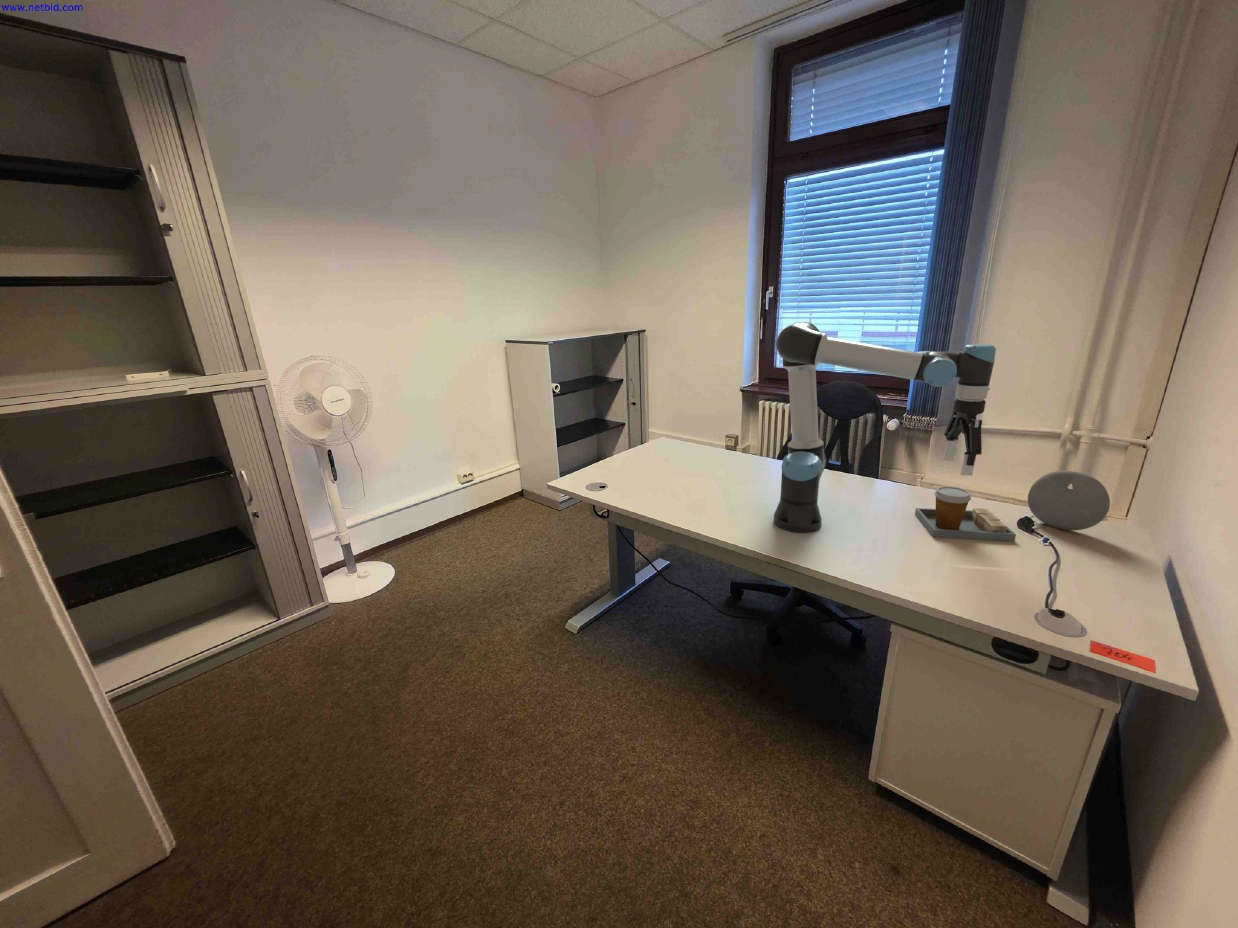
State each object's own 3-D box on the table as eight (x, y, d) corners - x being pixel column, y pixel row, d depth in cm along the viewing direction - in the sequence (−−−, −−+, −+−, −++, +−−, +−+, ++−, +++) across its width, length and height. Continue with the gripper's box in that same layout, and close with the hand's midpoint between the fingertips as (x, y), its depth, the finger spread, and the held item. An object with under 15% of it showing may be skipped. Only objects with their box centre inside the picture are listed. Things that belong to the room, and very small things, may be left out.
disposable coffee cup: (971, 533, 150) (977, 497, 146) (936, 532, 152) (942, 497, 148) (957, 520, 159) (963, 486, 155) (924, 519, 161) (930, 485, 157)
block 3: (989, 537, 147) (991, 525, 146) (983, 531, 151) (985, 519, 150) (1004, 538, 147) (1007, 526, 145) (997, 532, 150) (1000, 520, 149)
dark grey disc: (1101, 533, 148) (1118, 475, 142) (1099, 541, 143) (1117, 482, 137) (1024, 516, 161) (1036, 462, 155) (1020, 524, 156) (1032, 468, 150)
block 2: (984, 531, 151) (986, 519, 150) (976, 525, 155) (978, 514, 154) (997, 531, 151) (1000, 519, 150) (989, 525, 155) (991, 514, 153)
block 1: (974, 524, 156) (976, 512, 155) (971, 519, 160) (973, 507, 158) (989, 525, 155) (992, 514, 153) (985, 520, 158) (988, 509, 157)
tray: (932, 538, 150) (933, 529, 149) (914, 516, 165) (915, 508, 164) (1014, 543, 145) (1016, 534, 144) (988, 519, 160) (989, 511, 159)
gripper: (1006, 408, 130) (989, 482, 137) (966, 391, 153) (954, 455, 160) (974, 408, 132) (959, 481, 139) (940, 390, 155) (928, 454, 162)
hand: (956, 467), depth 149 cm, fingers open, 13 cm apart
